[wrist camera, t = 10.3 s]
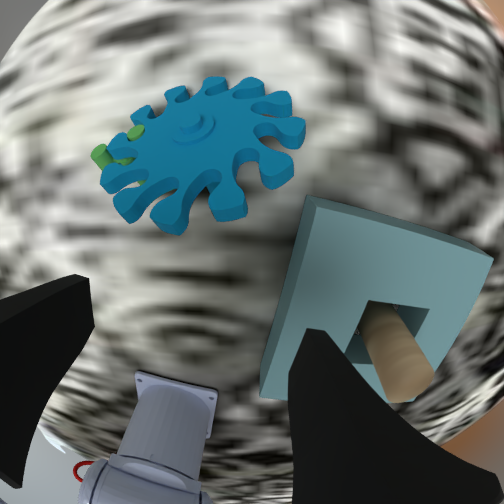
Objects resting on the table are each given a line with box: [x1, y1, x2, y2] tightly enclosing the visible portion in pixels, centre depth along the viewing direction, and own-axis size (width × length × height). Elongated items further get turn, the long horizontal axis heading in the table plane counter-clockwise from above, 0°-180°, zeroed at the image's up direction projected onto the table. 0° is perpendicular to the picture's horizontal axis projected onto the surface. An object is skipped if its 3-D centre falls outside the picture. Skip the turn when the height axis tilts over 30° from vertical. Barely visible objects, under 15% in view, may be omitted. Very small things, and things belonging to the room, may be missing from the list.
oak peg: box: [357, 300, 434, 403], centre depth 15 cm, size 3×3×8 cm
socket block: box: [259, 195, 494, 403], centre depth 17 cm, size 14×14×4 cm
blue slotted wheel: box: [91, 77, 306, 236], centre depth 14 cm, size 11×6×10 cm
